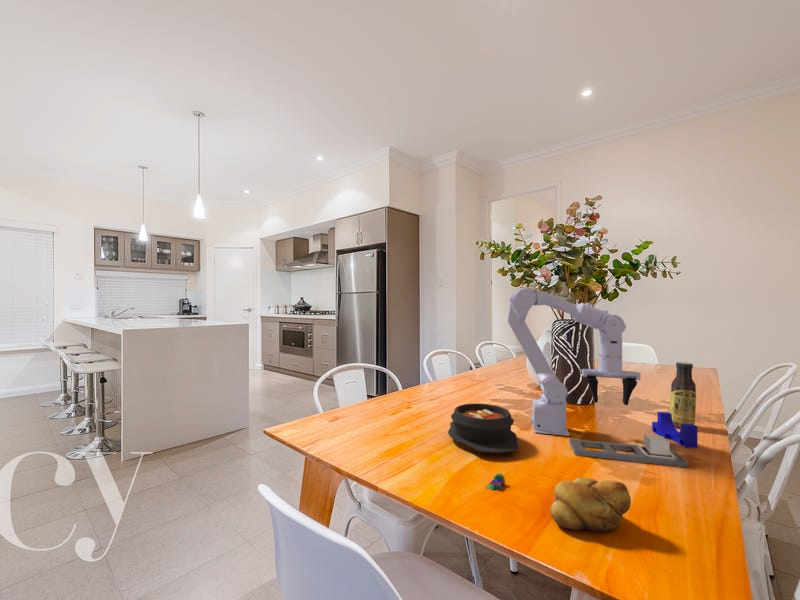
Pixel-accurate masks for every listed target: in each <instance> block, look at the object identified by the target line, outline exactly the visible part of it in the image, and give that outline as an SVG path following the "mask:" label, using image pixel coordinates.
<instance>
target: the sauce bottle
mask: <svg viewBox="0 0 800 600" xmlns="http://www.w3.org/2000/svg"><path fill="white" fill-rule="evenodd" d="M693 365H694V364H693V363H691V362H683V361H677V362H676V363H675V368H676V374H675V375H676V376H675V378H674V379H673V380H672V381H671V385H670V386H671V389H670V395H669V396H670V397H669V398H670V400H669V401H670V402H669V413H671V414H672V421H673V424H674V426H675V428H676V429H677V428H678V429H681V424H694V425H696V409H697V408H696V407H697V406H696V405H697V388H696V383H695V381H694V380H693V372H692V371H693V368H694V366H693Z"/></svg>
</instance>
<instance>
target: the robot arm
mask: <svg viewBox="0 0 800 600" xmlns="http://www.w3.org/2000/svg"><path fill="white" fill-rule="evenodd" d="M533 306H548V307H550V308H553V309H554V310H558V311H561V312H564V313H566V314H569V315H571V317H572V319H573V321H574V322H576V323H579V324H582V325H584V326H587V327H589V328H592V329H594V330H598V331H599V340H598V341H599V344H598V349H599V350H598V351H599V353H598V356H599V357H598V359H599V360H598V368H593V369H592V368H582V369H581V376H583V378H584V377H585V379H586V382H587V383H588V386H589V388H590V391H591V394H592V399H593V402H594V403H597V404H598V400H599V399H598V396H599V395H598V390H599V389H598V387H599V386H598V385H599V380H598V378H605V379H607V378H610V379H620V380H621V381H622V391H623V392H622V403H623V404H624V405H625V406H628V405H629V402H630V398H631V395H632V392H633V391H634V390H635V389H636V386H637V385H638V381H641V373H640V372H639V371H638V372H637V371H630V370H629V371H628V370H627V371H626V370H623V333H624V332H625V330H626V327H627V325H626V324H625V321H624V319H623V318H622V317H621V316H619V315H617V314H611V313H609V310H607V309H604V310H602V309H600V308H597V307H594V306H593V304H592V303H590V302H586V303H584V302H580V303H578V304H574V303H572V302H570V301H567V300H565V299H563V298H560V297H559V296H555V295H553V294H551V293H548V292H546V291H543V290H539V289H533V288H531V287H528V286H527V287H526V286H522V287H520V288H516V290H514V292H513V293H512V294H511V297H510V298H509V303H508V313H507V323H508V325H509V327H510V329H511V330H512V332H513V334H514V336H515V338H516V340H517V341H518V343H519V345H520V346H521V348H522V350H523V353H524V354H525V355H526V357H527V360H528V362H529V364H530V365H531V367H532V368H533V371H534V372H535V375H536V376H537V378H538V380H539V387H540V390H541V392H542V393H541V395H540V397H539V398H538V399H532V418H531V424H532V427H533V431H534V433H536V434H549V435H557V436H567V437H570V436H571V435H570V434H571V433H570V432H569V430H568V428H567V397H568V388H567V387H566V385H565V384H564V383H562V381H561V380H560V379H559V378H558V377H557V376H556V375H555V373H554V371H553V369H552V368H551V366H550V364H549V363H548V360H547V358H546V357H545V355H544V354H543V352H542V350H541V348H540V346H539V344H538V343H537V341H536V339H535V337H534V336H533V335H534V334H532V332H531V330H530V328H529V327H528V325H527V322H526V318H527V316H528V313H529V311H530V310H531V309H532V307H533Z"/></svg>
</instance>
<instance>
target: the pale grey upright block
mask: <svg viewBox="0 0 800 600" xmlns="http://www.w3.org/2000/svg"><path fill="white" fill-rule="evenodd" d="M643 446H644V451H645V452H646V453H647V454H648V455H655V456H664V457H670V449H671V448H670V441H669V439H665V438H664V437H663V436H659V435H657V434H646V433H645V434H643Z"/></svg>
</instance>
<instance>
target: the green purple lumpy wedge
mask: <svg viewBox="0 0 800 600" xmlns="http://www.w3.org/2000/svg"><path fill="white" fill-rule="evenodd" d="M505 484H506V479H505V476H504V475H503V474H502V473H499V472H498V473H497V474H496V475H495V476H494V477H493V479H492V480H491V481H490V483H488V484H487V486H485V489H486V490H489V491H492V492H493V491H494V490H496V491H497V492H498V491H499V492H500V490H501V489H502V488H503V487H504V486H505Z"/></svg>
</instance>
